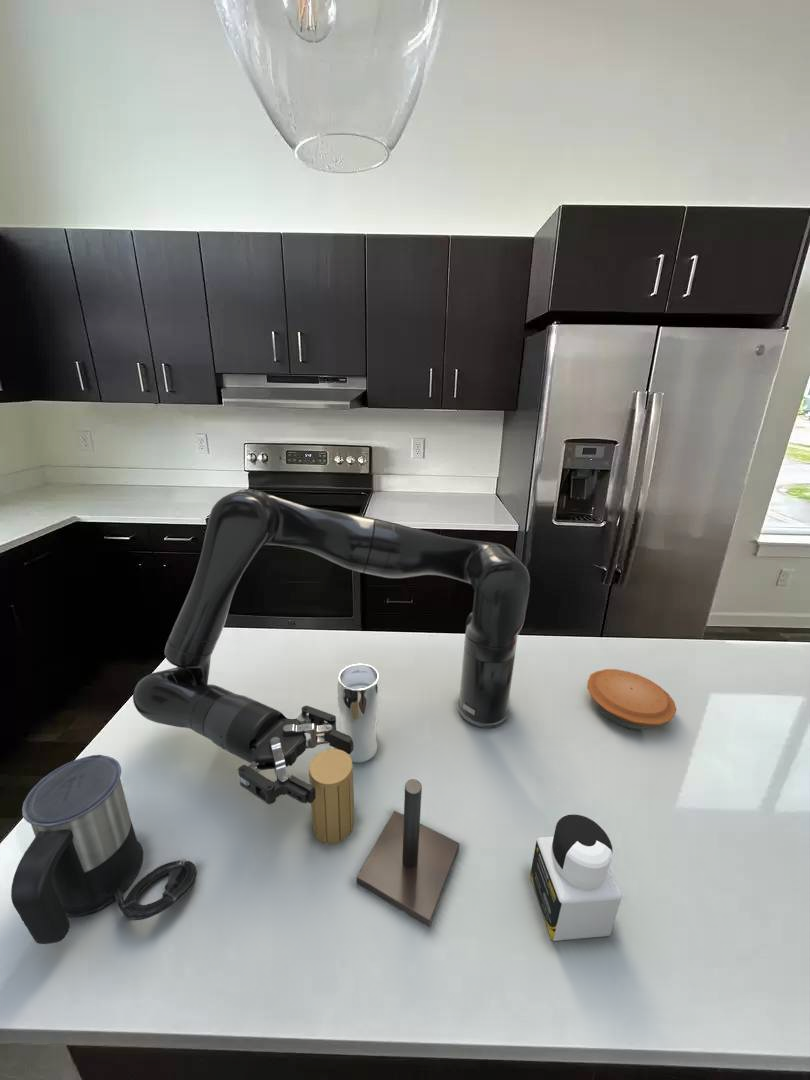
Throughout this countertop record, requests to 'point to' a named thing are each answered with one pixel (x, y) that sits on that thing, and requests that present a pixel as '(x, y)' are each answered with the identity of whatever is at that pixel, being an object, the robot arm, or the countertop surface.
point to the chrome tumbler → (359, 708)
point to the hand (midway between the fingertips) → (334, 770)
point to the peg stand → (410, 861)
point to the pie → (630, 699)
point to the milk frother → (85, 852)
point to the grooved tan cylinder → (332, 795)
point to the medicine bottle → (575, 880)
